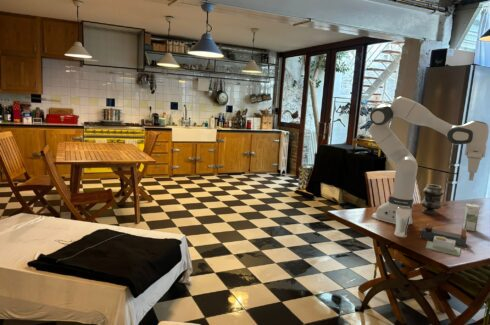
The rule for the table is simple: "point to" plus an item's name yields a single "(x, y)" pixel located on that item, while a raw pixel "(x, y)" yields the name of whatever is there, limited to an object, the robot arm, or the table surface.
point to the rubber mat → (456, 250)
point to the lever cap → (443, 243)
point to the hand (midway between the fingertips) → (470, 179)
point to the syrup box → (471, 217)
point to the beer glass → (402, 220)
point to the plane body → (444, 235)
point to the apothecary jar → (432, 198)
